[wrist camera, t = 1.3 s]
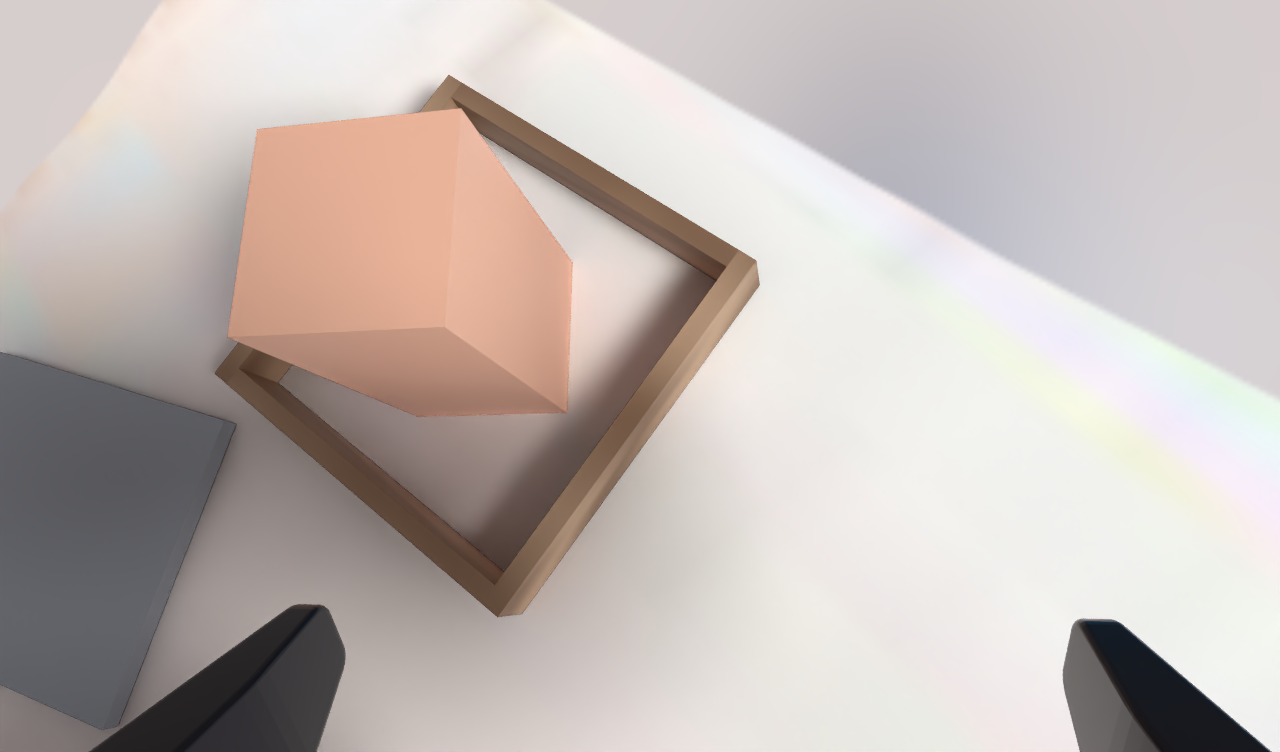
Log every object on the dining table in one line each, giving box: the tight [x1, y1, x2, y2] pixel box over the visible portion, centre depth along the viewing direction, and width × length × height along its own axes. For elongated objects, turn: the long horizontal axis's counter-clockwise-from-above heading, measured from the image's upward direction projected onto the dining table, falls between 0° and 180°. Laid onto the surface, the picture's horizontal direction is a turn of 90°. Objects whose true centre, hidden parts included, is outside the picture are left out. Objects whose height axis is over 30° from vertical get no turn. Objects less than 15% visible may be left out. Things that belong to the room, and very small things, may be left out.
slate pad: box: [0, 352, 236, 730], centre depth 27 cm, size 10×10×1 cm
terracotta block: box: [227, 108, 573, 417], centre depth 22 cm, size 5×5×9 cm
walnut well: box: [215, 75, 760, 617], centre depth 25 cm, size 12×12×2 cm
